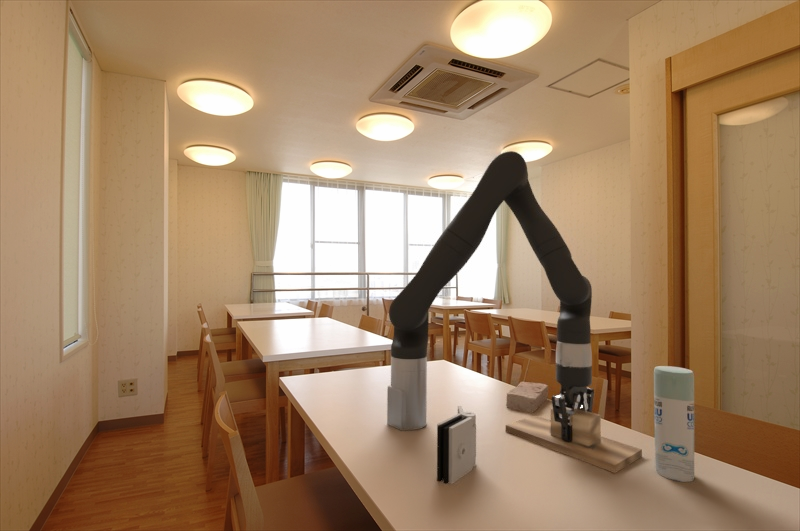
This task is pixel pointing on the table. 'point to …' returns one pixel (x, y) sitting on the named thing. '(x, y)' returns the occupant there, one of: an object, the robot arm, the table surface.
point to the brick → (527, 396)
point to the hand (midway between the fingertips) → (573, 437)
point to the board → (576, 445)
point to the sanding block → (581, 428)
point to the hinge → (456, 446)
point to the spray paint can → (674, 422)
